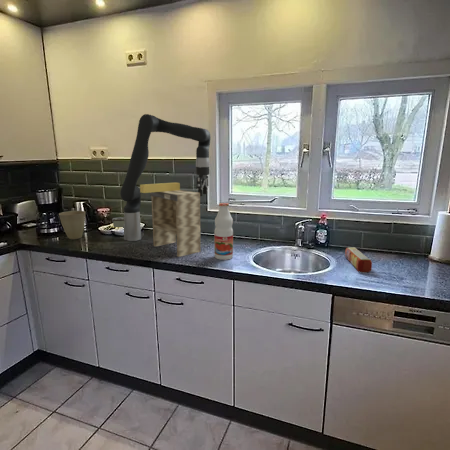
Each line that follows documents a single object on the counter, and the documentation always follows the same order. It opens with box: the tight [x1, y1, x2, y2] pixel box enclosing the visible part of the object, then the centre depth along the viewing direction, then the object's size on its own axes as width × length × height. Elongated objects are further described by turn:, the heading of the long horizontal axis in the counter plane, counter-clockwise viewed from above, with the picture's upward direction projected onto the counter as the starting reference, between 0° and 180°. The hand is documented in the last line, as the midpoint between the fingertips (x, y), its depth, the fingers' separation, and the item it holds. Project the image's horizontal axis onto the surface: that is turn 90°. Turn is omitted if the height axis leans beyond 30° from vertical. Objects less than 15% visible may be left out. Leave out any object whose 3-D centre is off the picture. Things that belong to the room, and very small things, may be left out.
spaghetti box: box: [139, 182, 181, 194], centre depth 170 cm, size 22×4×4 cm, turn 132°
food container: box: [111, 216, 125, 228], centre depth 211 cm, size 12×6×10 cm, turn 84°
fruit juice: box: [213, 202, 234, 261], centre depth 160 cm, size 9×9×28 cm
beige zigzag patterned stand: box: [149, 189, 202, 257], centre depth 173 cm, size 15×26×32 cm, turn 42°
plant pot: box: [58, 210, 86, 240], centre depth 196 cm, size 15×15×16 cm
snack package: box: [344, 246, 373, 273], centre depth 152 cm, size 21×7×7 cm, turn 175°
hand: (202, 195), depth 179 cm, fingers open, 8 cm apart
